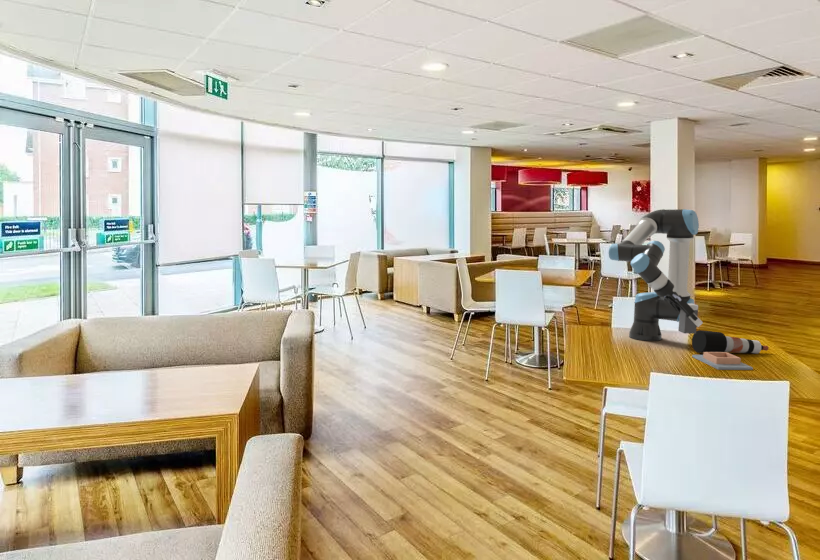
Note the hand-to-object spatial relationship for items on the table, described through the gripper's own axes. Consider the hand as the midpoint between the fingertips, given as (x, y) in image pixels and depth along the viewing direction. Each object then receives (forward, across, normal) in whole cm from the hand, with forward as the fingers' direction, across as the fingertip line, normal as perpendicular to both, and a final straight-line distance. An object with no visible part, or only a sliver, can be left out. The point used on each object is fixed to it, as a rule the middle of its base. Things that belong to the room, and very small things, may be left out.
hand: (696, 323), depth 234 cm
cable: (+29, -14, +6) cm, 33 cm away
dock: (+18, +3, -4) cm, 19 cm away
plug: (0, 0, -5) cm, 5 cm away
